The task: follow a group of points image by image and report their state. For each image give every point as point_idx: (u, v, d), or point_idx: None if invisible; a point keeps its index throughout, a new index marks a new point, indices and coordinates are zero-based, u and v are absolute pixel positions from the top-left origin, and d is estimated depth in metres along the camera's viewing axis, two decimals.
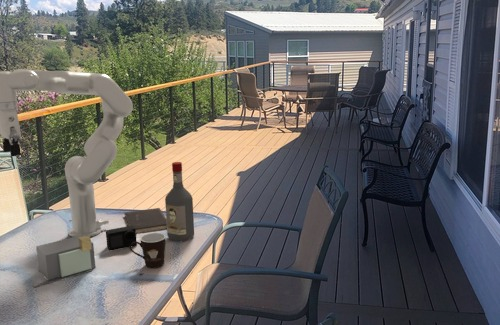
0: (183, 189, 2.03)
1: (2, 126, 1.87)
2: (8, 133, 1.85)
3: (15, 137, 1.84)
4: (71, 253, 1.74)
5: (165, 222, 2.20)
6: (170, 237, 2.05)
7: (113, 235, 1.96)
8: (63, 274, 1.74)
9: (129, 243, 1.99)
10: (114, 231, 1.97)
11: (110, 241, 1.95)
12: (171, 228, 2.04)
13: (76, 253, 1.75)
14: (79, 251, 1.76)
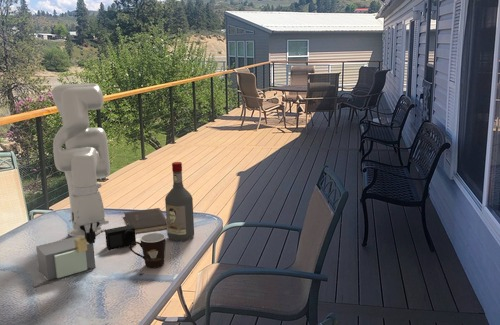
0: (183, 189, 2.03)
1: (94, 210, 1.74)
2: None
3: None
4: (67, 254, 1.73)
5: (164, 222, 2.20)
6: (170, 237, 2.05)
7: (113, 234, 1.96)
8: (59, 275, 1.73)
9: (128, 242, 2.00)
10: (113, 230, 1.97)
11: (109, 240, 1.96)
12: (171, 228, 2.04)
13: (72, 254, 1.74)
14: (75, 252, 1.75)
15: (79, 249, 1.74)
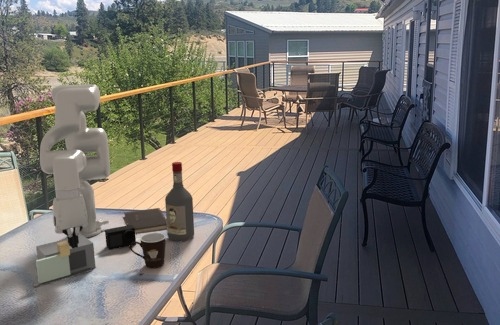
0: (183, 189, 2.03)
1: (77, 213, 1.70)
2: (83, 224, 1.73)
3: None
4: (49, 259, 1.70)
5: (164, 222, 2.20)
6: (170, 237, 2.05)
7: (113, 234, 1.96)
8: (41, 280, 1.69)
9: (128, 242, 2.00)
10: (113, 230, 1.97)
11: (109, 240, 1.96)
12: (171, 228, 2.04)
13: (54, 259, 1.71)
14: (57, 257, 1.72)
15: (61, 254, 1.70)
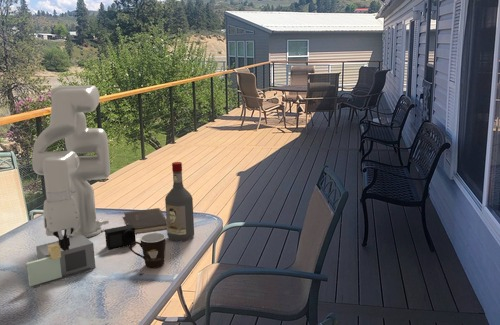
0: (183, 189, 2.03)
1: (68, 216, 1.68)
2: None
3: None
4: (40, 261, 1.68)
5: (164, 222, 2.20)
6: (170, 237, 2.05)
7: (113, 234, 1.96)
8: (31, 283, 1.68)
9: (128, 242, 2.00)
10: (113, 230, 1.97)
11: (109, 240, 1.96)
12: (171, 228, 2.04)
13: (45, 261, 1.69)
14: (48, 259, 1.70)
15: (52, 256, 1.69)
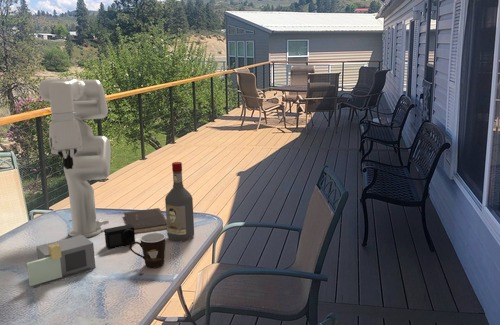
0: (183, 189, 2.03)
1: (71, 136, 1.84)
2: (78, 147, 1.87)
3: None
4: (40, 261, 1.68)
5: (164, 222, 2.20)
6: (170, 237, 2.05)
7: (112, 233, 1.97)
8: (32, 283, 1.68)
9: (128, 242, 2.00)
10: (113, 230, 1.98)
11: (109, 240, 1.97)
12: (171, 228, 2.04)
13: (45, 261, 1.69)
14: (48, 259, 1.70)
15: (53, 256, 1.69)
